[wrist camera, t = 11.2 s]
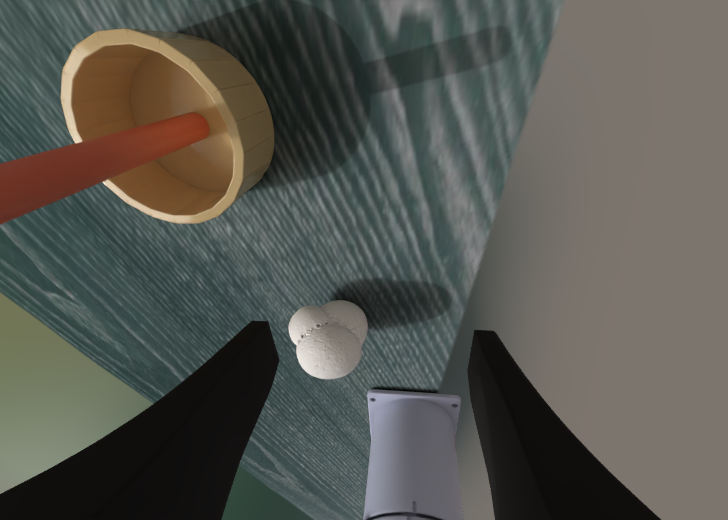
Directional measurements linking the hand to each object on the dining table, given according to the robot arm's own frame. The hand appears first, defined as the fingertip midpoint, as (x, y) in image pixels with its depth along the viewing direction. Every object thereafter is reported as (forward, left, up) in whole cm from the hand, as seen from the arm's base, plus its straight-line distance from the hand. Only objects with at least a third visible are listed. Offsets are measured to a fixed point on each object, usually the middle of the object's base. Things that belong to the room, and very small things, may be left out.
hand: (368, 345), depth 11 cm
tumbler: (+6, +10, -10) cm, 15 cm away
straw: (+6, +10, -9) cm, 15 cm away
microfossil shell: (-7, +4, -10) cm, 13 cm away
